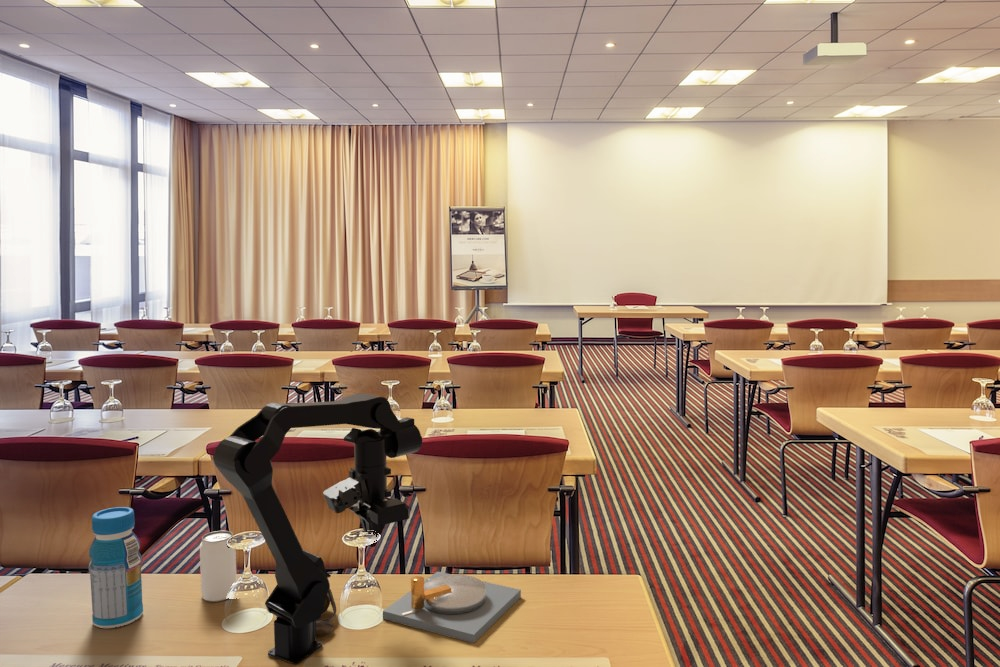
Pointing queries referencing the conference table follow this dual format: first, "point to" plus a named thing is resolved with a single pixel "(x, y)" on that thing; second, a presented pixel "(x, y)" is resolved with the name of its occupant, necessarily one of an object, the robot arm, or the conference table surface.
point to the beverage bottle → (115, 569)
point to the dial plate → (455, 625)
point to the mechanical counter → (324, 625)
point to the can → (217, 566)
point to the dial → (448, 594)
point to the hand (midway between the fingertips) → (372, 546)
